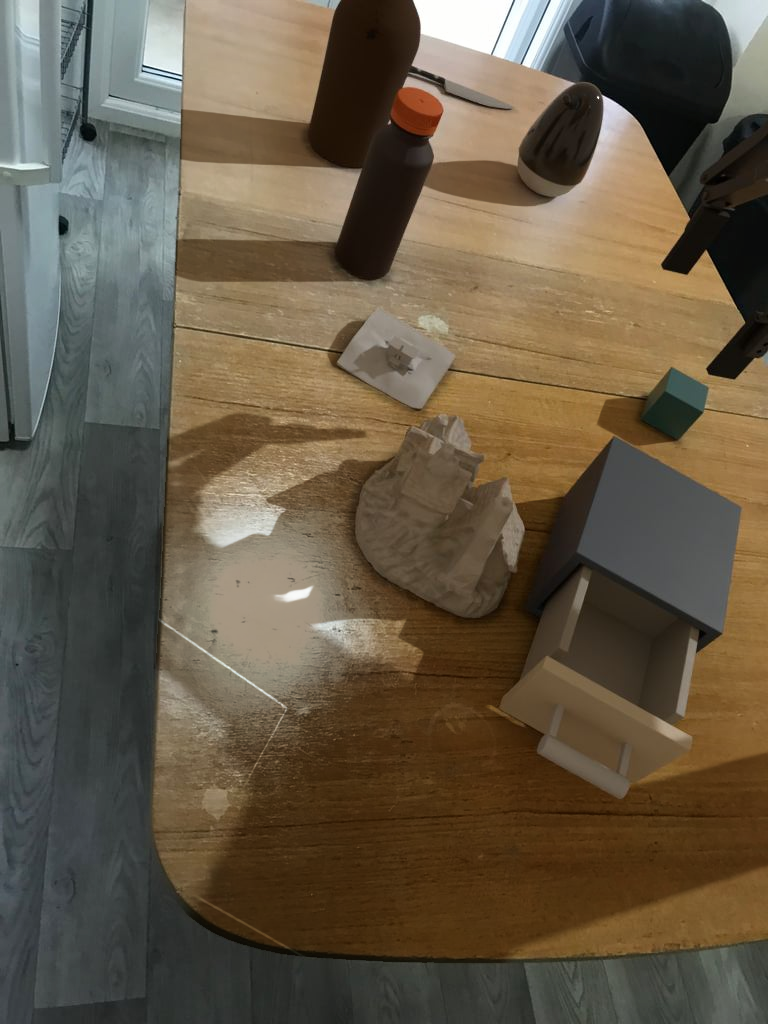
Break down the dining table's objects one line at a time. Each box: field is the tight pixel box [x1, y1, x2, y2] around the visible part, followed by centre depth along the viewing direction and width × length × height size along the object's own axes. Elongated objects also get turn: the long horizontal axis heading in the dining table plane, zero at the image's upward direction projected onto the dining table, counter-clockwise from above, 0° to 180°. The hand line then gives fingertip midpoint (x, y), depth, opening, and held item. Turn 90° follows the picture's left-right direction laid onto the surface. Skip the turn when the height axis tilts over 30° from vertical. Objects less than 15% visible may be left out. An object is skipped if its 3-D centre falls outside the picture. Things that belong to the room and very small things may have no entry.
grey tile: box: [336, 306, 457, 411], centre depth 88 cm, size 12×11×4 cm
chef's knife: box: [408, 65, 516, 110], centre depth 130 cm, size 19×1×3 cm
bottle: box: [334, 86, 444, 280], centre depth 91 cm, size 7×7×20 cm
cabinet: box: [523, 435, 743, 655], centre depth 78 cm, size 16×14×10 cm
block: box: [640, 366, 710, 441], centre depth 98 cm, size 5×5×5 cm
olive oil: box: [307, 0, 422, 169], centre depth 102 cm, size 11×11×25 cm
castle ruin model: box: [354, 413, 526, 619], centre depth 73 cm, size 16×16×15 cm
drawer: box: [498, 563, 700, 800], centre depth 69 cm, size 19×13×8 cm, turn 157°
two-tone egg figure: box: [517, 81, 605, 198], centre depth 116 cm, size 10×10×15 cm
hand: (695, 319), depth 75 cm, fingers open, 13 cm apart
